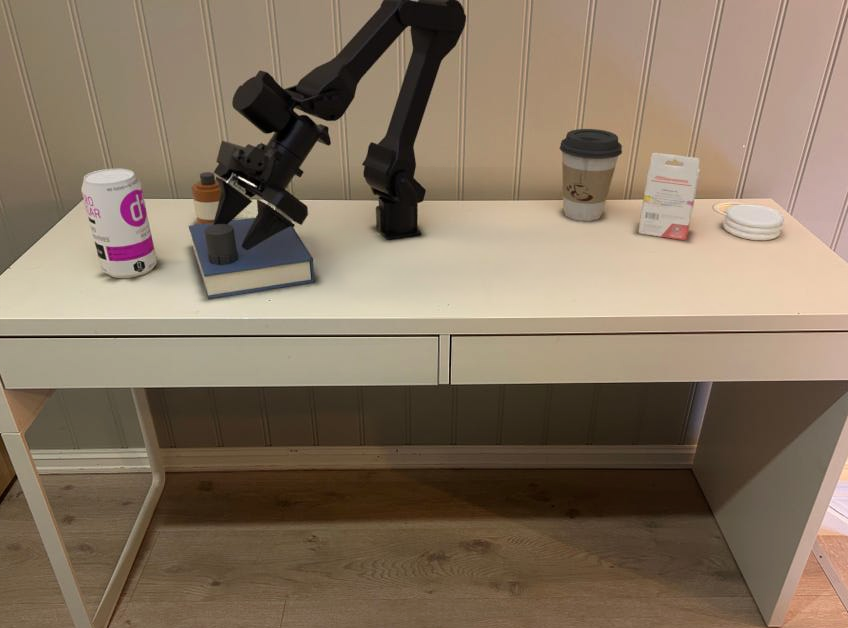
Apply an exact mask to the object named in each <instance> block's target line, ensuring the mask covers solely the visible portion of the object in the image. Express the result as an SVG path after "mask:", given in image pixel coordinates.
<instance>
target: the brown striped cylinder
mask: <svg viewBox="0 0 848 628" xmlns="http://www.w3.org/2000/svg"><path fill="white" fill-rule="evenodd" d="M199 179H200V181H197V182H196V183H194V184H192V185H191V192H192V200H193V205H194V206H193V207H194V211H195V216H196V222H197V225H199V224H207V223H214V219H215V216H216V212H217V208H218V204H219V200H220V194H221V191H220V188H219V184H218V182H217V181H216V176H215V173H214V172H211V171H205V172H202V173H199Z"/></svg>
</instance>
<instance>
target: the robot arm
mask: <svg viewBox="0 0 848 628" xmlns="http://www.w3.org/2000/svg"><path fill="white" fill-rule="evenodd" d="M466 22H467V14H466V13H465V8H464V7H463V5H462V2H460V1H459V0H417V1H416V0H382V2H381V4H380V7H379V8H378V9H377V10H376V11H375V13H373V14H372V16H371V17H370V18H369V19H368V20H367V22H365V23H364V25H363V26H362V27H361V28H360V29H359V30H358V31H357V33H356V34H355V35H353V36H352V38H351V39H350V40H349V41H348V43H346V44H345V46H344V47H343V48H342V49H341V50H340V51H339V52H338V54H337V55H336V56H334V57H333V58H332V59H331V60H329V61H327V62H325V63H322V64H321V65H318V66H316V67H315V68H313V69H312V70H311V71H310V72H308V73H307V74H305V76H302V78H301V79H299V82H297V83H296V84H295V85H292V86H289V87H286V88H283V87H282V86H281V85H280V84H279V83H278V82H277V81H276V80H275V78H274V77H273V76H272V75H271V74H270V73H269V72H267V71H265V70H258V72H257V73H256V75H255V76H253V77H250V78H249V79H247V80H245V82H243V84H242V85H241V84H240V85H239V86H238V88H236V90H235V92H234V95H233V97H232V100H231V101H232V103H231V105H232V108H233V109H234V110H235V111H236V112H238V113H239V114H240V115H241V116H242V117H244V118H245V119H246V120H247V121H248V122H250V123H251V124H252V125H253V126H254V127H256V128H257V129H258V130H260V132H261V133H263V134H265V135H267V134H272V133H273V134H272V136H271V137H270V138H269V141H268V142H267V143H266V144H265V143H263V142H260V143H258V144H256V145H255V146H254V145H252V144H247V145H246V146H242V145H238V144H236V143H232V142H228V141H225V140H221V142H220V146H219V149H218V153H217V157H216V163H217V164H218V165H217V166H216V167H215V169H214V171H213V173H214V175H216V176H215V180H216V181H217V182H218V184H219V188H220V191H221V194H220V200H219V204H218V208H217V212H216V216H215V219H214V223H213V225H215V224H228V223H229V222H231V221H232V220H235V218H236V217H237V216H238V215H239V214H241V212H243V211H244V210H245V209H246V208H247V207H248V206H249V205H251V203H252V202H253V200H252V199H250V198H253V197H254V196H257V197H259V198H261V199H262V200H263V201H262V200H260V199H258V198H257V199H256V206H257V214H256V216H255V217H256V218H255V217H254V218H255V220H254V222H253V224H252V226H251V227H250V229H249V231H248V233H247V235H246V237H245V239H244V241H243V243H242V248H244V249H245V250H249V249H251V248H253V247H254V246H256V245H258V244H259V243H261V242H263V241H264V240H266V239H268V238H269V237H271V236H273V235H275V234H277V233H279V232H280V231H282V230H284V229H286V228H288V227H293V228H294V227H295V226H296V224H298V225H300V226H302V225H303V224H304V222H305V221H306V219H307V217H308V216H309V209H308V206H307V205H306V204H305V203H303V201H302V200H300V199H298V198H297V197H296V196H295V195H294V194H292V193H291V192H289V191H288V190H286V189H287V188H288V186H289V185H290V183H291V182H292V180H293V179H294V177H295V176H296V177H298V178H301V177H302V176H303V174H304V173H305V171H304V170H302V169H301V166H303V163H305V160H306V159H307V158H308V155H310V153H311V151H312V150H313V148H314V147H315V145H316V143H317V142H318V143H320V144H323V145H325V146H331V145H332V141H331V137H330V133H329V132H330V131H329V130H330V129H329V126H327V125H324V124H322V123H319V124H317V122H315V121H314V120H313V119H312V118H311V117H310V116H312V117H316V118H318V119H321V120H324V121H326V122H336V121H338V120H340V119H341V118H342V117H343V116H344V114H345V113H346V111H347V110H348V108H349V107H350V105H351V104H352V103H353V100H354V99H355V96H356V91H357V88H358V84H360V81H361V80H362V79H363V77H365V75H366V74H367V73H368V72H369V71H370V69H371V68H372V67H373V66H374V65H375V64H376V63H377V61H378V60H379V59H380V58H381V57H382V56H383V55H384V54H385V52H386V51H388V49H389V48H390V47H391V45H392V44H393V43H394V42H395V41H396V40H397V39H398V38H399V37H400V35H401V34H402V33H403V32H404V31H405V30H406V29H407V28H408V27H410V38H411V44H412V45H411V46H412V51H411V55H410V58H409V61H408V65H407V68H406V71H405V74H404V77H403V80H402V83H401V86H400V89H399V92H398V96H397V99H396V102H395V105H394V108H393V112H392V115H391V117H390V121H389V124H388V127H387V131H386V133H385V135H384V137H383V138H382V139H381V140H380V141H379V142H378V143H377V142H376V143H375V142H372V141H371V142H369V145H368V146H367V153H366V156H365V160H364V161H363V162H362V163H361V166H363V172H362V173H363V178H364V179H365V182H366V184H367V185H368V187H370V189H371V192H372V194H373V195H374V196H378V198H377V199H378V205H376V206H375V223H376V224H375V227H376V229H377V230H378V231H379V232H380V233H381V234H382V236H384V238H385V239H386V240H393V239H402V238H408V237H415V236H420V235H422V231H421V229H419V228H418V227H419V225H418V224H419V222H418V221H419V220H418V216H419V215H418V213H419V212H418V211H419V210H418V209H419V208H418V204H419V203H423V202H424V199H425V195H426V192H427V189H426V188H425V187H424V186H422V184H421V183H419V182H418V180H416V178H415V173H416V168H417V162H416V155H415V147H414V146H415V142H416V140H417V136H418V134H419V130H420V128H421V125H422V121H423V118H424V116H425V112H426V109H427V106H428V103H429V100H430V97H431V95H432V90H433V89H434V85H435V82H436V79H437V76H438V73H439V69H440V67H441V63H442V61H443V60H444V59H445V58H446V56H448V55H449V54H450V52H451V51H453V50H454V48H455V47H456V46H457V44H458V42H459V40H460V38H461V36H462V34H463V32H464V30H465V27H466ZM294 109H296V110H299V111H301V112H303V113H305V114H298V113H297V112H296V111H295V110H294ZM306 114H307V115H306ZM308 115H309V116H308ZM264 201H265V202H267V203H265V202H264ZM295 223H296V224H295Z"/></svg>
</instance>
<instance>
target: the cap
mask: <svg viewBox="0 0 848 628" xmlns="http://www.w3.org/2000/svg"><path fill="white" fill-rule="evenodd" d="M204 233H205V238H206V244H207V250H208V251H207V252H208V258H209V262H210V263H211V264H216V265H226V264H231V263H233V262H235V261H237V260H238V259H239V258H238V251H237V247H236V240H235V233H234V227H233V226H231V225H228V224H215V225H211V226H208V227H206V228H205V230H204Z"/></svg>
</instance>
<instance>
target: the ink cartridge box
mask: <svg viewBox="0 0 848 628" xmlns="http://www.w3.org/2000/svg"><path fill="white" fill-rule="evenodd" d="M650 158H651V159H650V163H649V168H648V169H647V173H646V181H645V187H644V194H643V199H642V206H641V212H640V217H639V218H640V219H639V224H638V230H637V231H638V234H640V235H647V236H653V237H654V236H655V237H662V238H666V239H668V238H669V239H673V240H679V241H686V240H687V236H688V233H689V230H690V226H691V220H692V216H693V210H694V205H695V199H696V193H697V188H698V183H699V177H700V173H701V172H700V171H701V169H700V167H699V166H700V163H701V162H700V158H699V157H692V156H687V155H678V154H669V153H660V152H652V154H651V156H650ZM674 161H676V162H677V163H680V164H682V165H681V166H679V165H670V164H667V162H674Z"/></svg>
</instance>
